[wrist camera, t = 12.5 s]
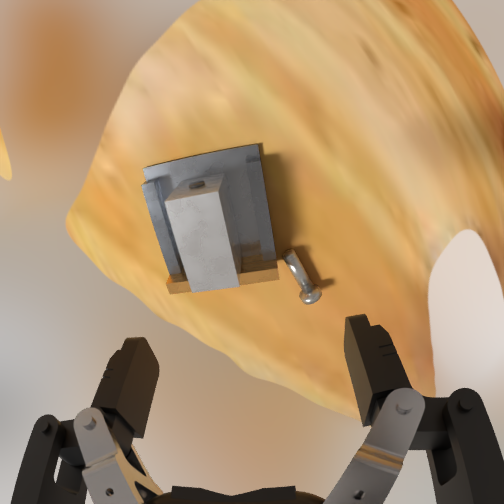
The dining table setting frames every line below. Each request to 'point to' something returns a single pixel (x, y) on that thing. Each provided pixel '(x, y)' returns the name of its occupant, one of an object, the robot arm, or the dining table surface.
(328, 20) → the dining table surface
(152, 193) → the grey channel bracket
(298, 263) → the hitch pin
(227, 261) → the grey metal block
